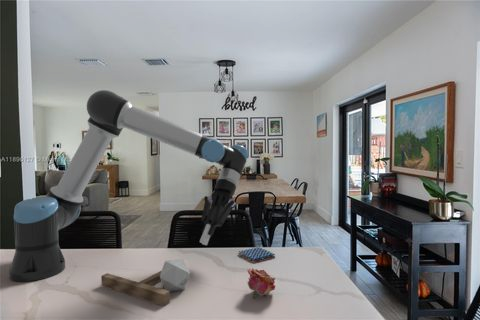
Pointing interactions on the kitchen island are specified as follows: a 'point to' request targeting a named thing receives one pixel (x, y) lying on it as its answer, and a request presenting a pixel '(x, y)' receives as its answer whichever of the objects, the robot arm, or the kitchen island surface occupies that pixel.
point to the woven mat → (256, 254)
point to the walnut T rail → (138, 288)
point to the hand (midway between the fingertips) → (203, 243)
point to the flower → (260, 282)
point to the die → (174, 275)
